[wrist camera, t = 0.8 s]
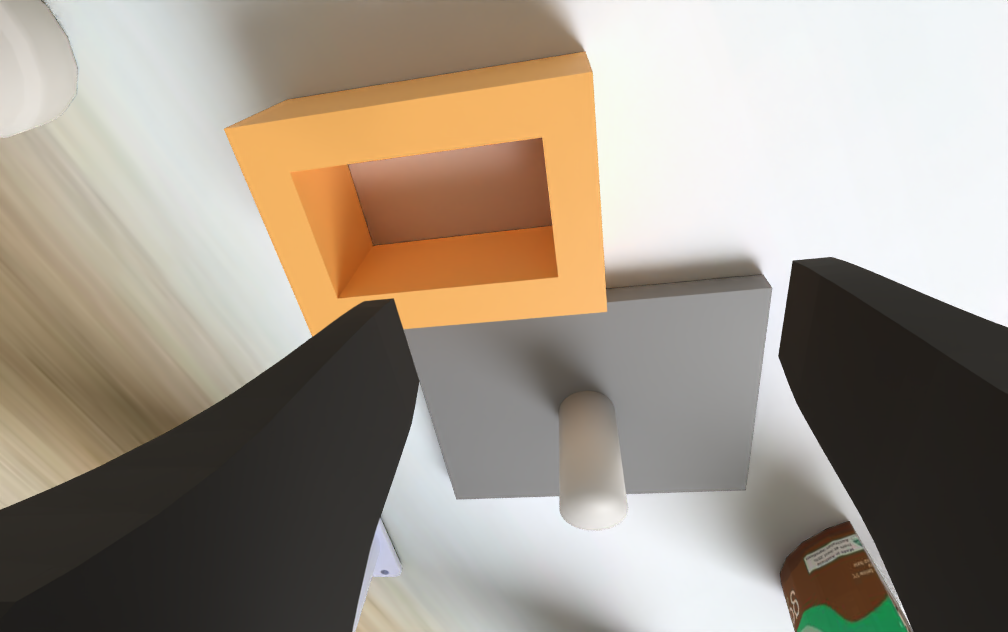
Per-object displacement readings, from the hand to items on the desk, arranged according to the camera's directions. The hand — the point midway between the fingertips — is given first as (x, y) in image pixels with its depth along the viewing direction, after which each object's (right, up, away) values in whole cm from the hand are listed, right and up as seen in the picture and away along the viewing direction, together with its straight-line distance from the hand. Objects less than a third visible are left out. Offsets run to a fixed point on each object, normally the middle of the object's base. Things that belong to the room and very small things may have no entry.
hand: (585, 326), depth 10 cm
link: (-3, +5, +9) cm, 11 cm away
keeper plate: (+2, -3, +14) cm, 14 cm away
